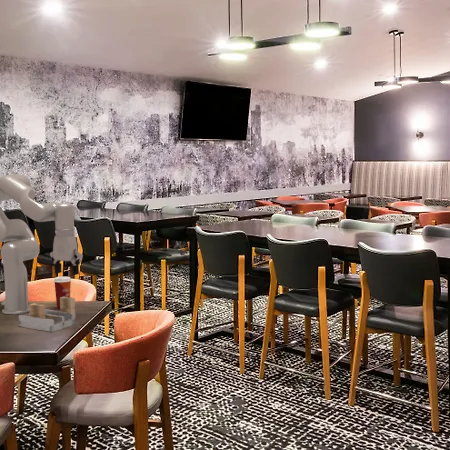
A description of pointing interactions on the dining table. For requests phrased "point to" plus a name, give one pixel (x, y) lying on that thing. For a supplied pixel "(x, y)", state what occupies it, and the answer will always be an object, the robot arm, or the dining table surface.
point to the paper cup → (62, 288)
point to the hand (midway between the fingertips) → (66, 273)
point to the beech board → (67, 305)
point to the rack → (48, 321)
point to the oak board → (37, 310)
